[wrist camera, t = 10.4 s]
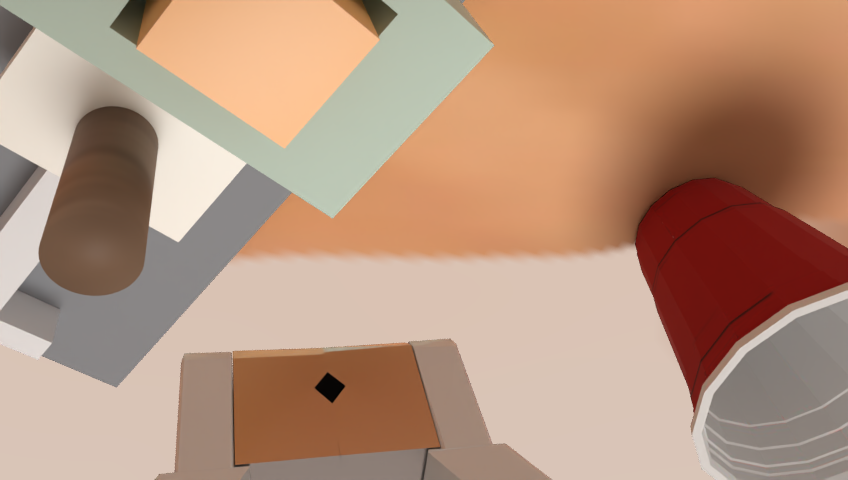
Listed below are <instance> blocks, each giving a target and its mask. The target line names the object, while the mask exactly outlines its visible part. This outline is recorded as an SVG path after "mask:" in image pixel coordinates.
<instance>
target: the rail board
mask: <svg viewBox="0 0 848 480" xmlns="http://www.w3.org/2000/svg"><path fill="white" fill-rule="evenodd" d="M464 1H465V0H362V2H363V4H364V6H365V8H366V10H367V13H368V15H369V17H370V19H371V21H372V23H373V25H374V28H375V30H376V32H377V34H378V36H379V38H380V40H379V41H378V43H377V44H376V45H375V46H374V47H373V48H372V49H371V51H370V52H369V53H368V54H367V55H366V56H365V57H364V59H363V60H362V61H361V62H360V63H359V64H358V65H357V67H356V68H355V69H354V70H353V71H352V72H351V73H350V75H349V76H348V77H347V78H346V79H345V80H344V81H343V83H342V84H341V85H340V86H339V87H338V88H337V89H336V91H335V92H334V93H333V94H332V95H331V96H330V97H329V99H328V100H327V101H326V102H325V103H324V104H323V105H322V107H321V108H320V109H319V110H318V111H317V112H316V113H315V115H314V116H313V117H312V118H311V119H310V120H309V121H308V123H307V124H306V125H305V126H304V127H303V128H302V129H301V131H300V132H299V133H298V134H297V135H296V136H295V137H294V139H293V140H292V141H291V142H290V143H289V144H288V145H287V147H286V148H285V149H284V148H283V147H281V146H280V145H278V144H277V143H275V142H274V141H272V140H271V139H269V138H268V137H266V136H265V135H263V134H262V133H260V132H259V131H257V130H256V129H254V128H253V127H252V126H250V125H249V124H247V123H246V122H244V121H243V120H241V119H240V118H238V117H237V116H235V115H234V114H232V113H231V112H229V111H228V110H226V109H225V108H223V107H222V106H220V105H219V104H217V103H216V102H214V101H213V100H211V99H210V98H208V97H207V96H205V95H204V94H202V93H201V92H200V91H198V90H197V89H195V88H194V87H192V86H191V85H189V84H188V83H186V82H185V81H183V80H182V79H180V78H179V77H177V76H176V75H174V74H173V73H171V72H170V71H168V70H167V69H165V68H164V67H162V66H161V65H159V64H158V63H156V62H155V61H153V60H152V59H150V58H149V57H148V56H146V55H145V54H143V53H142V52H140V51H139V50H137V49H136V46H137V42H138V37H139V32H140V28H141V23H142V18H143V13H144V9H145V4H146V0H0V74H1V73H2V71H3V70H4V69H5V67H6V66H7V64H8V63H9V61H10V60H11V59H12V57H13V56H14V54H15V53H16V51H17V50H18V49H19V47H20V46H21V44H22V43H23V41H24V40H25V39H26V37H27V36H28V34H29V33H30V32H31V30H32V29H33V27H35V28H37V29H38V30H40V31H41V32H43V33H44V34H46V35H47V36H49V37H51V38H52V39H54V40H55V41H57V42H58V43H60V44H62V45H63V46H65V47H66V48H68V49H69V50H71V51H72V52H74V53H76V54H77V55H79V56H80V57H82V58H83V59H85V60H86V61H88V62H90V63H91V64H93V65H94V66H96V67H97V68H99V69H101V70H102V71H104V72H105V73H107V74H108V75H110V76H111V77H113V78H115V79H116V80H118V81H119V82H121V83H122V84H124V85H125V86H127V87H129V88H130V89H132V90H133V91H135V92H136V93H138V94H139V95H141V96H143V97H144V98H146V99H147V100H149V101H150V102H152V103H154V104H155V105H157V106H158V107H160V108H161V109H163V110H164V111H166V112H168V113H169V114H171V115H172V116H174V117H175V118H177V119H178V120H180V121H182V122H183V123H185V124H186V125H188V126H189V127H191V128H193V129H194V130H196V131H197V132H199V133H200V134H202V135H203V136H205V137H207V138H208V139H210V140H211V141H213V142H214V143H216V144H217V145H219V146H221V147H222V148H224V149H225V150H227V151H228V152H230V153H231V154H233V155H235V156H236V157H238V158H239V159H241V160H242V161H244V162H246V163H247V164H246V165H245V166H244V167H243V168H242V169H241V170H240V172H239V173H238V174H237V175H236V176H235V177H234V179H233V180H232V181H231V182H230V183H229V184H228V186H227V187H226V188H225V189H224V190H223V191H222V193H221V194H220V195H219V196H218V197H217V198H216V199H215V201H214V202H213V203H212V204H211V205H210V206H209V208H208V209H207V210H206V211H205V212H204V213H203V215H202V216H201V217H200V218H199V219H198V220H197V222H196V223H195V224H194V225H193V226H192V227H191V228H190V230H189V231H188V232H187V233H186V234H185V235H184V237H183V238H182V239H181V240H180V241H179V242H177V241H175V240H173V239H171V238H170V237H168V236H166V235H164V234H162V233H161V232H159V231H157V230H155V229H153V228H151V227H150V226H149V229H148V238H147V246H146V254H145V262H144V267H143V270H142V272H141V274H140V276H139V277H138V278H137V279H136V281H135V282H134V283H132V284H131V285H130V286H129V287H127V288H125V289H123V290H121V291H119V292H116V293H113V294H109V295H102V296H89V295H82V294H77V293H74V292H71V291H69V290H66V289H64V288H62V287H60V286H59V285H58V284H56V283H55V282H54V281H52V280H51V279H50V278H49V277H48V276H47V274H46V273H45V272H44V270H43V268H42V266H41V264H40V261H39V254H38V251H39V245H40V241H41V238H42V235H43V231H44V228H45V225H46V222H47V219H48V215H49V212H50V209H51V206H52V203H53V199H54V196H55V193H56V190H57V186H58V183H59V180H60V177H59V176H57V175H55V174H53V173H51V172H50V171H48V170H46V169H44V168H42V167H40V166H39V165H37V164H35V163H33V162H31V161H29V160H28V159H26V158H24V157H22V156H20V155H19V154H17V153H15V152H13V151H11V150H9V149H8V148H6V147H4V146H2V145H0V344H1V345H4V346H6V347H9V348H11V349H13V350H16V351H18V352H20V353H23V354H25V355H28V356H30V357H32V358H35V359H39V358H40V357H41V356H43V357H46V358H48V359H50V360H53V361H55V362H57V363H60V364H62V365H64V366H67V367H69V368H72V369H74V370H76V371H79V372H81V373H83V374H86V375H89V376H91V377H93V378H95V379H98V380H100V381H103V382H105V383H107V384H110V385H112V386H114V387H117V386H118V385H119V384H120V383H121V382H122V381H123V380H124V378H125V377H126V376H127V375H128V374H129V373H130V372H131V371H132V370H133V369H134V367H135V366H136V365H137V364H138V363H139V362H140V361H141V360H142V358H143V357H144V356H145V355H146V354H147V353H148V352H149V351H150V350H151V349H152V347H153V346H154V345H155V344H156V343H157V342H158V341H159V339H161V337H162V336H163V335H164V334H165V333H166V332H167V331H168V330H169V328H170V327H171V326H172V325H173V324H174V323H175V322H176V321H177V320H178V318H179V317H180V316H181V315H182V314H183V313H184V312H185V311H186V310H187V309H188V307H189V306H190V305H191V304H192V303H193V302H194V301H195V300H196V299H197V297H198V296H199V295H200V294H201V293H202V292H203V291H204V290H205V289H206V287H207V286H208V285H209V284H210V283H211V282H212V281H213V280H214V279H215V277H216V276H217V275H218V274H219V273H220V272H221V271H222V270H223V269H224V267H225V266H226V265H227V264H228V263H229V262H230V261H231V260H232V259H233V257H234V256H235V255H236V254H237V253H238V252H239V251H240V250H241V249H242V247H243V246H244V245H245V244H246V243H247V242H248V241H249V240H250V239H251V237H252V236H253V235H254V234H255V233H256V232H257V231H258V230H259V229H260V227H261V226H262V225H263V224H264V223H265V222H266V221H267V220H268V219H269V217H270V216H271V215H272V214H273V213H274V212H275V211H276V210H277V209H278V207H279V206H280V205H281V204H282V203H283V202H284V201H285V200H286V199H287V197H288V196H289V195H290V194H291V193H294V194H295V195H297V196H299V197H300V198H302V199H303V200H305V201H306V202H308V203H309V204H311V205H313V206H314V207H316V208H317V209H319V210H320V211H322V212H323V213H325V214H327V215H328V216H330V217H331V218H334V216H335V215H336V214H337V213H338V212H339V211H340V210H341V209H342V208H343V207H344V206H345V205H346V204H347V203H348V201H349V200H350V199H351V198H352V197H353V196H354V195H355V194H356V193H357V192H358V191H359V190H360V189H361V188H362V187H363V185H364V184H365V183H366V182H367V181H368V180H369V179H370V178H371V177H372V176H373V175H374V174H375V173H376V172H377V170H378V169H379V168H380V167H381V166H382V165H383V164H384V163H385V162H386V161H387V160H388V159H389V158H390V157H391V155H392V154H393V153H394V152H395V151H396V150H397V149H398V148H399V147H400V146H401V145H402V144H403V143H404V142H405V141H406V139H407V138H408V137H409V136H410V135H411V134H412V133H413V132H414V131H415V130H416V129H417V128H418V127H419V126H420V124H421V123H422V122H423V121H424V120H425V119H426V118H427V117H428V116H429V115H430V114H431V113H432V112H433V111H434V109H435V108H436V107H437V106H438V105H439V104H440V103H441V102H442V101H443V100H444V99H445V98H446V97H447V96H448V94H449V93H450V92H451V91H452V90H453V89H454V88H455V87H456V86H457V85H458V84H459V83H460V82H461V81H462V80H463V78H464V77H465V76H466V75H467V74H468V73H469V72H470V71H471V70H472V69H473V68H474V67H475V66H476V65H477V63H478V62H479V61H480V60H481V59H482V58H483V57H484V56H485V55H486V54H487V53H488V52H489V51H490V50H491V48H492V47H493V46H494V44H493V43H492V42H491V40H490V39H489V38H488V37H487V35H486V34H485V33H484V31H483V30H482V29H481V27H480V26H479V25H478V24H477V22H476V21H475V20H474V18H473V17H472V16H471V15H470V13H469V12H468V11H467V9H466V8H465V7H464V5H463V4H462V3H463V2H464Z"/></svg>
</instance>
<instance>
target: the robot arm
mask: <svg viewBox="0 0 848 480" xmlns="http://www.w3.org/2000/svg"><path fill="white" fill-rule="evenodd" d="M155 480H552V479H551V478H549V477H548V476H547V475H545V474H544V473H543V472H541V471H540V470H539V469H538V468H536V467H535V466H534V465H532V464H531V463H530V462H529V461H527V460H526V459H525V458H523V457H522V456H521V455H519V454H518V453H517V452H516V451H514V450H513V449H512V448H511V447H509V446H508V445H507V444H492V442H491V439H490V436H489V433H488V430H487V428H486V425H485V422H484V419H483V417H482V414H481V411H480V409H479V406H478V403H477V401H476V398H475V395H474V392H473V389H472V387H471V384H470V381H469V378H468V375H467V373H466V370H465V367H464V364H463V362H462V359H461V356H460V354H459V351H458V348H457V345H456V343H454V342H453V341H452V340H451V339H438V340H426V341H411V342H408V343H391V344H376V345H360V346H345V347H329V348H310V349H279V350H253V351H233V373H232V353H231V352H219V353H218V352H217V353H187V354H184V356H183V359H182V363H181V373H180V390H179V407H178V423H177V440H176V456H175V472H174V473H166V474H159V475H158V477H157V478H156V479H155Z"/></svg>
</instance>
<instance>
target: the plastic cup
mask: <svg viewBox="0 0 848 480" xmlns="http://www.w3.org/2000/svg"><path fill="white" fill-rule="evenodd" d="M635 246H636V249H637V256H638V259H639V263H640V266H641V270H642V273H643V275H644V277H645V279H646V281H647V284H648V286H649V288H650V291H651V293H652V295H653V297H654V301H655V304H656V308H657V311H658V314H659V317H660V319H661V321H662V324H663V326H664V329H665V331H666V334H667V336H668V338H669V341H670V344H671V346H672V348H673V351H674V353H675V356H676V358H677V361H678V363H679V365H680V368H681V370H682V373H683V375H684V377H685V380H686V383H687V385H688V388H689V391H690V395H691V396H690V397H691V400H692V404H693V408H694V410H693V412H694V416H693V419H692V423H691V432H692V437H693V441H694V444H695V448H696V451H697V455H698V458H699V462H700V465H701V469H702V470H704V471H705V472H706V473H707V474H709V475H710V476H711V477H713V478H714V479H715V480H848V248H846V247H845V246H843V245H841V244H840V243H838V242H836V241H835V240H833V239H831V238H830V237H828V236H826V235H825V234H823V233H821V232H820V231H818V230H816V229H815V228H813V227H811V226H810V225H808V224H806V223H805V222H803V221H801V220H800V219H798V218H796V217H795V216H793V215H791V214H790V213H788V212H786V211H785V210H783V209H780V208H776V207H774V206H772V205H770V204H769V203H767V202H766V201H764V200H762V199H761V198H759V197H757V196H756V195H754V194H753V193H751V192H749V191H748V190H746V189H744V188H743V187H740V186H737V185H734V184H731V183H728V182H725V181H722V180H719V179H716V178H708V179H697V180H691V181H689V182H687V183H685V184H682V185H680V186H678V187H676V188H673V189H671V190H670V191H668V192H667V193H666V194H665V195H664V196H663V197H661V198H660V199H659V200H658V201H657V202H655V203H654V204H653V205H652V206H651V207H650V209H649V211H648V212H647V214H646V215H645V217H644V218H643V220H642V222H641V223H640V225H639V228H638V233H637V238H636V243H635Z"/></svg>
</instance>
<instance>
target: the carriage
mask: <svg viewBox="0 0 848 480" xmlns="http://www.w3.org/2000/svg"><path fill="white" fill-rule="evenodd" d="M0 145H2V146H4V147H6V148H8V149H9V150H11V151H13V152H15V153H17V154H19V155H20V156H22V157H24V158H26V159H28V160H29V161H31V162H33V163H35V164H37V165H39V166H40V167H42V168H44V169H46V170H48V171H50V172H51V173H53V174H55V175H57V176H59V177H60V180H59V183H58V186H57V190H56V193H55V196H54V199H53V203H52V206H51V209H50V212H49V215H48V219H47V222H46V225H45V228H44V231H43V235H42V238H41V241H40V245H39V251H38V254H39V261H40V264H41V266H42V268H43V270H44V272H45V273H46V274H47V276H48V277H49V278H50V279H51V280H52V281H54V282H55V283H56V284H58V285H59V286H60V287H62V288H64V289H66V290H69V291H71V292H74V293H77V294H82V295H89V296H102V295H109V294H113V293H116V292H119V291H121V290H123V289H125V288H127V287H129V286H130V285H131V284H132V283H134V282H135V281H136V279H137V278H138V277H139V276H140V274H141V272H142V270H143V267H144V262H145V254H146V246H147V238H148V229H149V226H150V227H151V228H153V229H155V230H157V231H159V232H161V233H162V234H164V235H166V236H168V237H170V238H171V239H173V240H175V241H177V242H179V241H180V240H181V239H182V238H183V237H184V235H185V234H186V233H187V232H188V231H189V230H190V228H191V227H192V226H193V225H194V224H195V223H196V222H197V220H198V219H199V218H200V217H201V216H202V215H203V213H204V212H205V211H206V210H207V209H208V208H209V206H210V205H211V204H212V203H213V202H214V201H215V199H216V198H217V197H218V196H219V195H220V194H221V193H222V191H223V190H224V189H225V188H226V187H227V186H228V184H229V183H230V182H231V181H232V180H233V179H234V177H235V176H236V175H237V174H238V173H239V172H240V170H241V169H242V168H243V167H244V166H245V165H246V164H247V163H246V162H244V161H242V160H241V159H239V158H238V157H236V156H235V155H233V154H231V153H230V152H228V151H227V150H225V149H224V148H222V147H221V146H219V145H217V144H216V143H214V142H213V141H211V140H210V139H208V138H207V137H205V136H203V135H202V134H200V133H199V132H197V131H196V130H194V129H193V128H191V127H189V126H188V125H186V124H185V123H183V122H182V121H180V120H178V119H177V118H175V117H174V116H172V115H171V114H169V113H168V112H166V111H164V110H163V109H161V108H160V107H158V106H157V105H155V104H154V103H152V102H150V101H149V100H147V99H146V98H144V97H143V96H141V95H139V94H138V93H136V92H135V91H133V90H132V89H130V88H129V87H127V86H125V85H124V84H122V83H121V82H119V81H118V80H116V79H115V78H113V77H111V76H110V75H108V74H107V73H105V72H104V71H102V70H101V69H99V68H97V67H96V66H94V65H93V64H91V63H90V62H88V61H86V60H85V59H83V58H82V57H80V56H79V55H77V54H76V53H74V52H72V51H71V50H69V49H68V48H66V47H65V46H63V45H62V44H60V43H58V42H57V41H55V40H54V39H52V38H51V37H49V36H47V35H46V34H44V33H43V32H41V31H40V30H38V29H37V28H35V27H33V29H32V30H31V32H30V33H29V34H28V36H27V37H26V39H25V40H24V41H23V43H22V44H21V46H20V47H19V49H18V50H17V51H16V53H15V54H14V56H13V57H12V59H11V60H10V61H9V63H8V64H7V66H6V67H5V69H4V70H3V71H2V73H1V74H0Z"/></svg>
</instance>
